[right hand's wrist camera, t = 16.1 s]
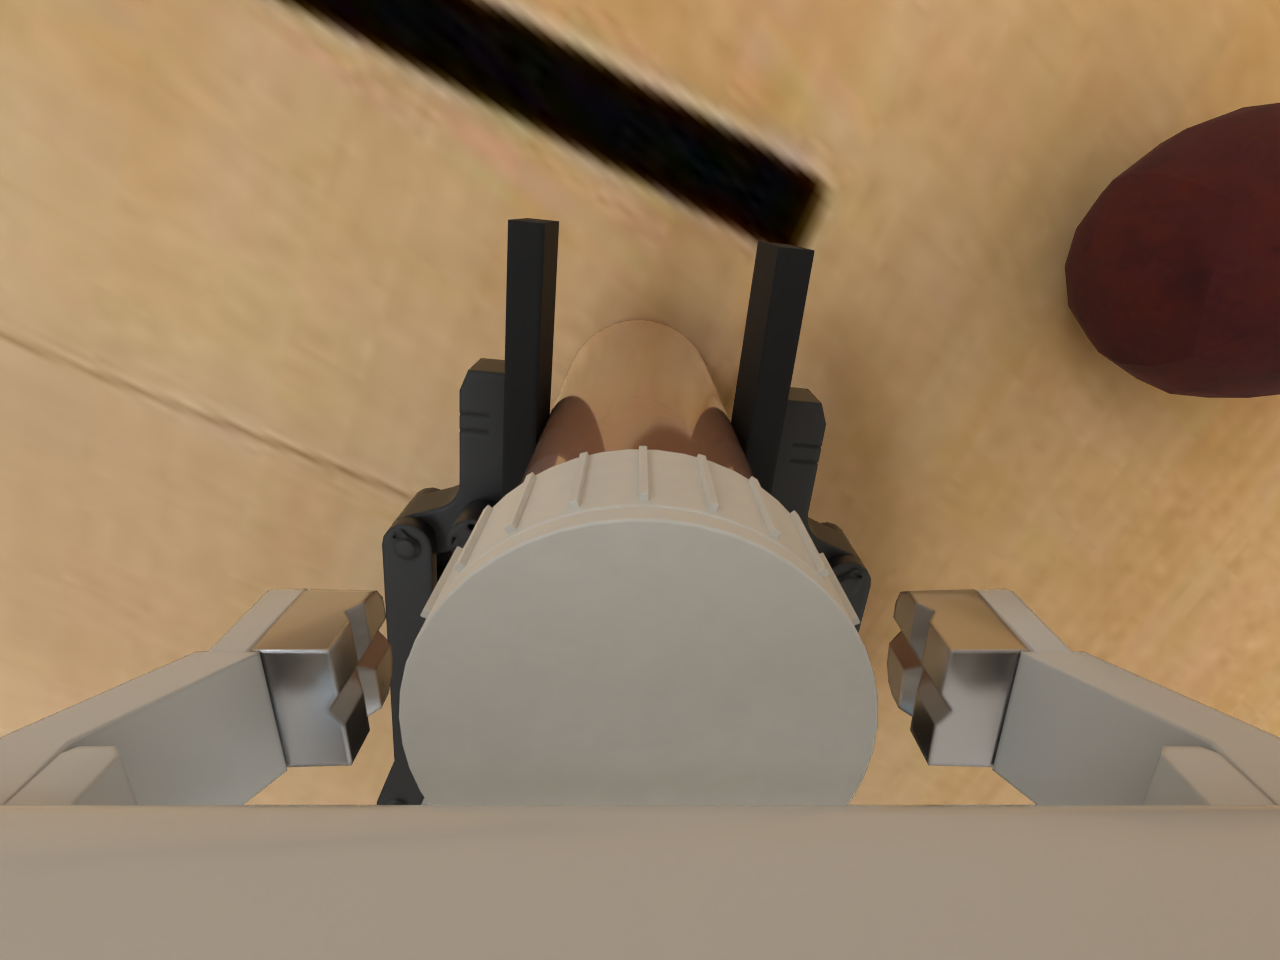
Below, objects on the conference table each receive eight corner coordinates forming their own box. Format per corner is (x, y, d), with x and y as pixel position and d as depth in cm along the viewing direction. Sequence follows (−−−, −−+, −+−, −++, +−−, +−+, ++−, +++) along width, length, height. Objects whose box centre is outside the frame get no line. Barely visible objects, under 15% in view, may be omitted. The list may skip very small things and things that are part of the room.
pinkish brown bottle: (730, 427, 24) (880, 781, 9) (602, 480, 25) (549, 886, 10) (677, 295, 22) (755, 463, 8) (542, 354, 23) (369, 616, 8)
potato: (1242, 357, 23) (1483, 417, 16) (1006, 376, 23) (1151, 442, 17) (1301, 108, 20) (1620, 60, 14) (1033, 132, 20) (1220, 95, 14)
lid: (870, 461, 9) (940, 535, 7) (798, 789, 11) (834, 922, 9) (440, 424, 9) (380, 490, 7) (446, 765, 11) (401, 896, 9)
